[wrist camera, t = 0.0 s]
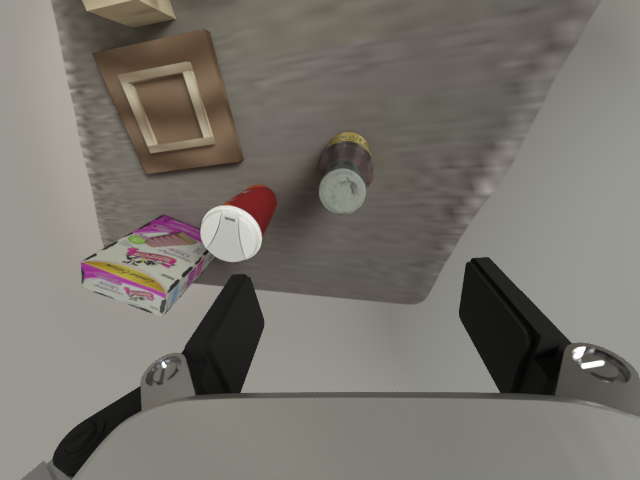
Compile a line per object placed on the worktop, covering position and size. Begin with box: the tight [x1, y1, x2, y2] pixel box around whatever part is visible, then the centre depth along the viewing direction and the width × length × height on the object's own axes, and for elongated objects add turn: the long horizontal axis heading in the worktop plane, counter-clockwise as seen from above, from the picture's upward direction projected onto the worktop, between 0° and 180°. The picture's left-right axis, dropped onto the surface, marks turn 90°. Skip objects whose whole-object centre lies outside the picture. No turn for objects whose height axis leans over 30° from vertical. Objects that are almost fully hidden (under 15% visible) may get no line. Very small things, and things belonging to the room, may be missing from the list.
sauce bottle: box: [317, 132, 373, 215], centre depth 30 cm, size 7×6×20 cm
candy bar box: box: [81, 215, 215, 317], centre depth 40 cm, size 11×5×16 cm, turn 67°
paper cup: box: [200, 185, 277, 262], centre depth 37 cm, size 8×8×14 cm
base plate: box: [92, 29, 244, 174], centre depth 36 cm, size 16×16×2 cm
